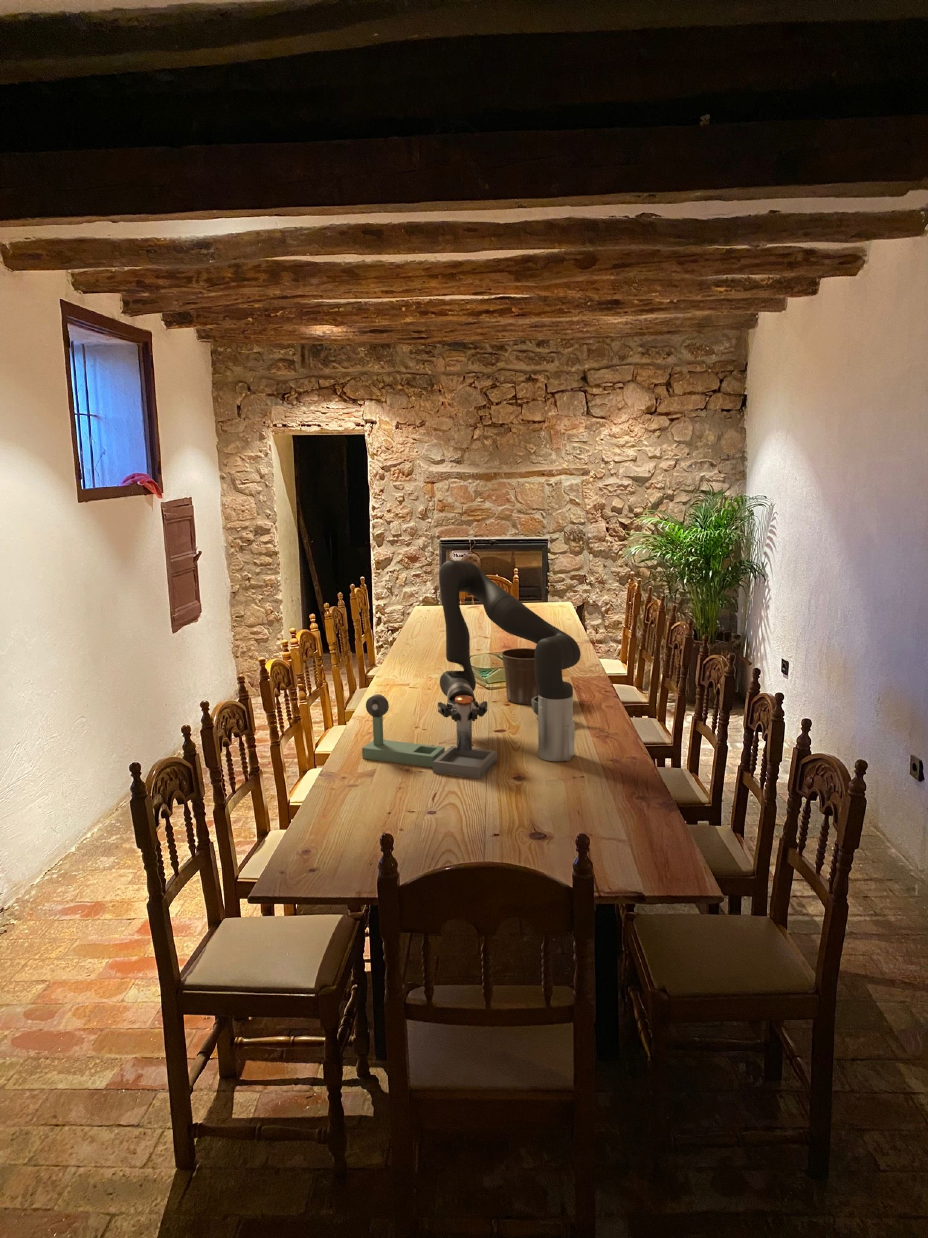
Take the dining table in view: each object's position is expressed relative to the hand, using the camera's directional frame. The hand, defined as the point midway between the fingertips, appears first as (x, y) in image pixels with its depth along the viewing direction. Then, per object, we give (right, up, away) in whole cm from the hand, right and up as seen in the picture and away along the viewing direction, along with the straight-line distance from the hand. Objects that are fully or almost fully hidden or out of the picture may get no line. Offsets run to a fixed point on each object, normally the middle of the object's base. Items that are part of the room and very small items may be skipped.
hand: (464, 717), depth 218 cm
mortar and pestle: (+26, -6, +44) cm, 51 cm away
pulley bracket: (-17, -12, +13) cm, 24 cm away
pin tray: (0, -14, +5) cm, 15 cm away
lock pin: (0, -9, +5) cm, 10 cm away
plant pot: (+21, -2, +67) cm, 70 cm away
